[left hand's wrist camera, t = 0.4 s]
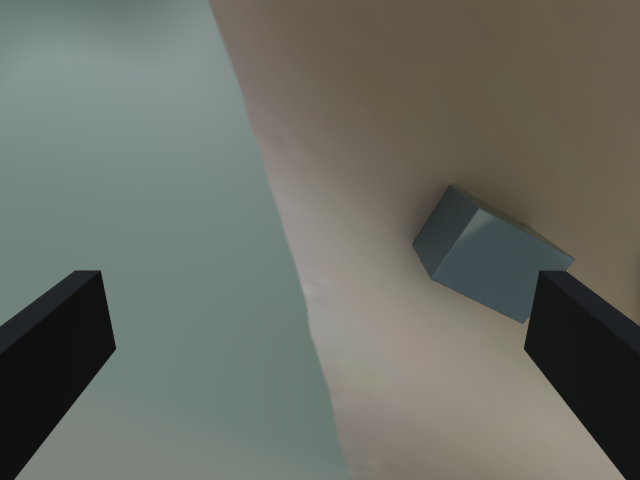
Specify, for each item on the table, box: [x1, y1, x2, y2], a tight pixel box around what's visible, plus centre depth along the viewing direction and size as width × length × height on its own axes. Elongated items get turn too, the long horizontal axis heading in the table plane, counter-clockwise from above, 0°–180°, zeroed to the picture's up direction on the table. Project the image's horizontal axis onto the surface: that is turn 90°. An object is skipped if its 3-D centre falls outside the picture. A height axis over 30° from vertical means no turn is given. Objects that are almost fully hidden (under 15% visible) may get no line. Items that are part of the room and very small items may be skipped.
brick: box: [412, 185, 575, 324], centre depth 36 cm, size 7×9×7 cm
